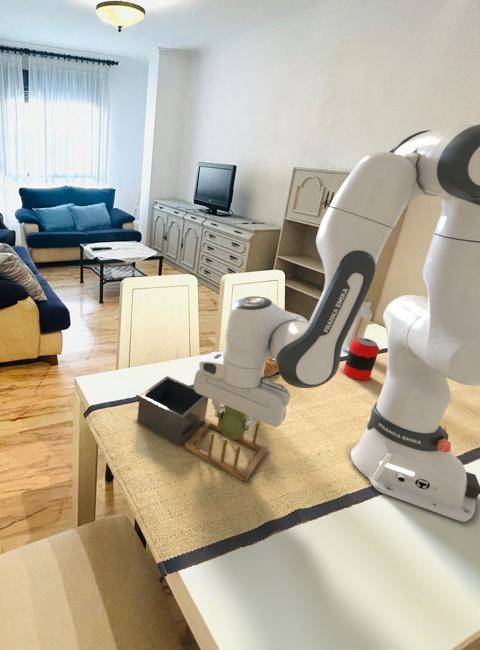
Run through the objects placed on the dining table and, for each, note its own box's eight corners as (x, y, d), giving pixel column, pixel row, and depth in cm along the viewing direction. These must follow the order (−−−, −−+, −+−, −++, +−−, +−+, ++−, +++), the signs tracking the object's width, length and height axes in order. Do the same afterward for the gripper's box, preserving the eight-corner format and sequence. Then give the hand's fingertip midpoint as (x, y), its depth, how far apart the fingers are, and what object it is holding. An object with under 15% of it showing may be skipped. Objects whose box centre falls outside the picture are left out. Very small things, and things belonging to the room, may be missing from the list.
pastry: (264, 381, 119) (267, 371, 117) (245, 372, 123) (247, 362, 122) (279, 372, 125) (282, 361, 123) (260, 363, 129) (262, 353, 128)
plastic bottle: (343, 344, 146) (358, 295, 139) (363, 351, 141) (379, 301, 134) (336, 349, 142) (351, 298, 135) (356, 356, 137) (372, 304, 130)
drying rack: (266, 451, 90) (271, 427, 88) (245, 482, 81) (251, 456, 79) (208, 423, 99) (212, 400, 96) (184, 447, 90) (188, 423, 88)
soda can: (371, 375, 126) (382, 342, 121) (366, 383, 121) (377, 350, 116) (346, 366, 131) (356, 334, 126) (340, 374, 125) (350, 341, 121)
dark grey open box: (204, 420, 100) (208, 394, 97) (179, 445, 91) (183, 418, 88) (164, 400, 107) (166, 375, 104) (137, 422, 98) (139, 395, 95)
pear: (246, 434, 89) (253, 398, 86) (239, 447, 85) (246, 410, 81) (223, 425, 92) (229, 389, 88) (215, 437, 88) (220, 400, 84)
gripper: (296, 382, 78) (284, 436, 83) (206, 349, 90) (200, 399, 95) (286, 395, 74) (274, 452, 79) (193, 359, 86) (187, 411, 91)
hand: (233, 422), depth 87 cm, fingers closed on pear, 5 cm apart
